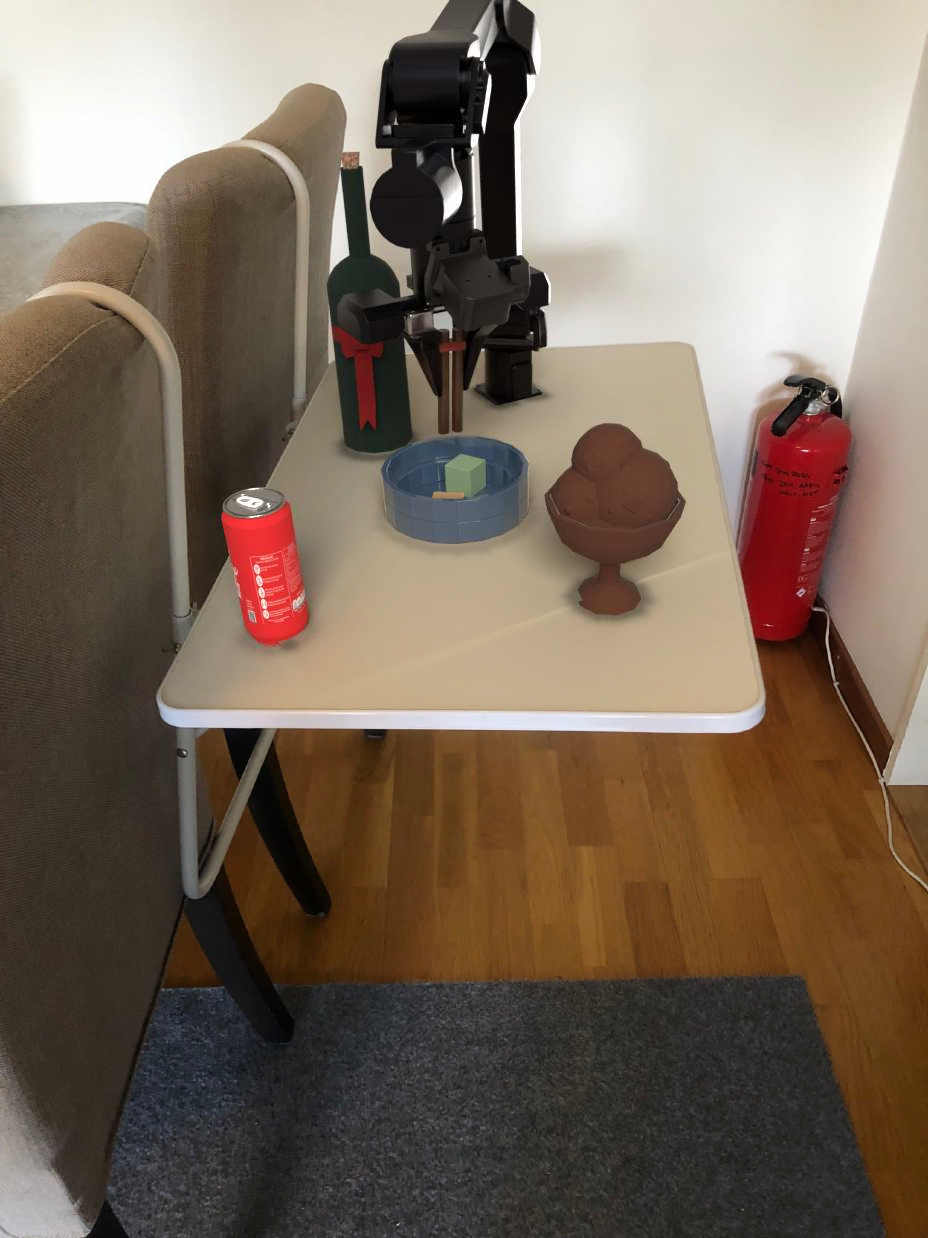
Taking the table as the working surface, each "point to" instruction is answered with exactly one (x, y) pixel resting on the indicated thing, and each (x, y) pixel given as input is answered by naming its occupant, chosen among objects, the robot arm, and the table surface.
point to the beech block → (448, 495)
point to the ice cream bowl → (613, 510)
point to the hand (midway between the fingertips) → (450, 392)
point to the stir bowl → (454, 520)
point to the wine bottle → (367, 370)
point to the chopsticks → (457, 348)
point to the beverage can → (265, 564)
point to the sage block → (465, 475)
